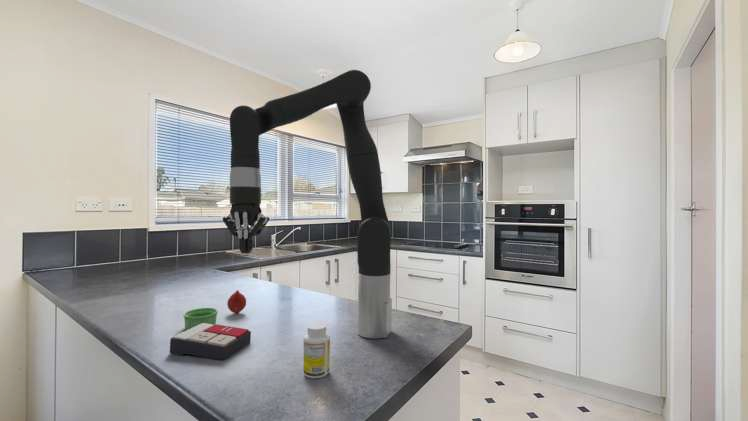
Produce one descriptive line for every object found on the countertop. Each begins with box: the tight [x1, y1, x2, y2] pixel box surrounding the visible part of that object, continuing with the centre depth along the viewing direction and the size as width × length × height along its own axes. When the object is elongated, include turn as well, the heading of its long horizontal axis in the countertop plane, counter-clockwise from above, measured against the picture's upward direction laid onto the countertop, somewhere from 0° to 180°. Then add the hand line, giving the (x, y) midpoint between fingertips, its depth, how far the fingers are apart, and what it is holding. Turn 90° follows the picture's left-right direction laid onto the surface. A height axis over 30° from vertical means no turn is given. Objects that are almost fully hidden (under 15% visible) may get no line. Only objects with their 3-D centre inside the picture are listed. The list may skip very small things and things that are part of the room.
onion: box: [226, 290, 247, 315], centre depth 108 cm, size 6×6×8 cm
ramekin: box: [183, 307, 219, 331], centre depth 96 cm, size 9×9×4 cm
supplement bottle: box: [303, 322, 331, 379], centre depth 70 cm, size 6×6×10 cm
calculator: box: [169, 323, 252, 361], centre depth 82 cm, size 11×4×15 cm
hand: (245, 252), depth 84 cm, fingers closed
